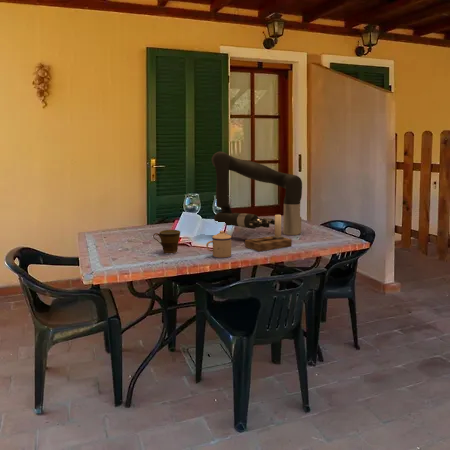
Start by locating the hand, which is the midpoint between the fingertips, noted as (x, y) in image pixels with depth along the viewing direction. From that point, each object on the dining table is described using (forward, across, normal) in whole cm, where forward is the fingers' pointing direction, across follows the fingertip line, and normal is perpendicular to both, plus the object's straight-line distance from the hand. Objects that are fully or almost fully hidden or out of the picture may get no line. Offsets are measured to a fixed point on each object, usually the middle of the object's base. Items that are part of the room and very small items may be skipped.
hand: (273, 224), depth 235 cm
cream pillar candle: (+3, 0, +9) cm, 9 cm away
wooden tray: (+1, -6, +10) cm, 12 cm away
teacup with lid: (-8, -34, +11) cm, 37 cm away
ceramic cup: (-32, -44, +11) cm, 55 cm away
